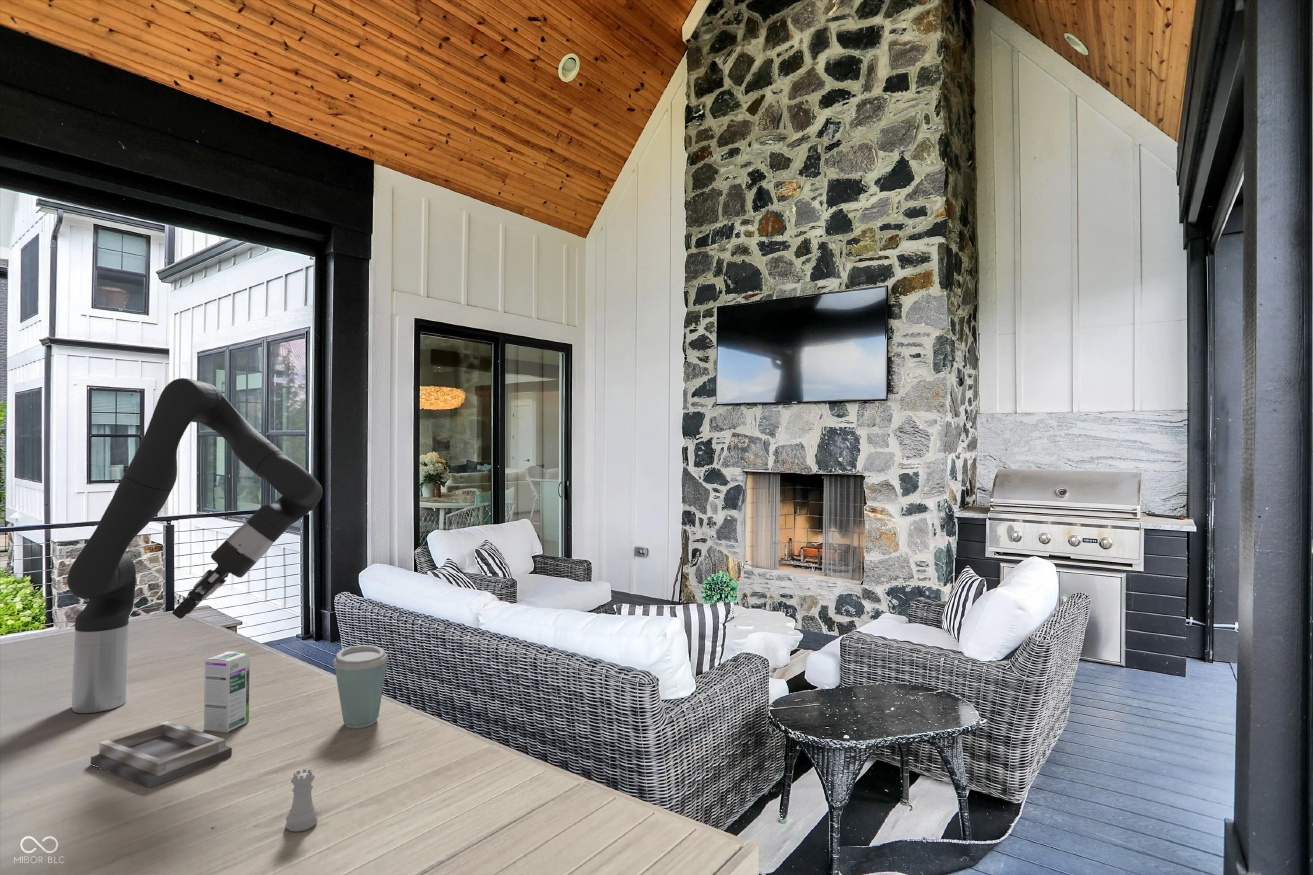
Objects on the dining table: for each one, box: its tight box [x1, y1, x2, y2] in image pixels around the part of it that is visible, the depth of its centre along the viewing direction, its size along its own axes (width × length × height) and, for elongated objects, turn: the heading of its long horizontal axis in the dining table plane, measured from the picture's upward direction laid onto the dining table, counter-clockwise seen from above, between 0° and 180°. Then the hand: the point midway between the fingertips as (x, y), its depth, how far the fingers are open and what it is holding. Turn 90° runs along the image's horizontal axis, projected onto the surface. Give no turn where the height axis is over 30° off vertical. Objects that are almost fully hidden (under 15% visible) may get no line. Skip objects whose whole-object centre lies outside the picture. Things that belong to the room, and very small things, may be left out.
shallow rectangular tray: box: [90, 720, 233, 789], centre depth 128 cm, size 18×14×4 cm
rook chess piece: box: [285, 768, 319, 833], centre depth 107 cm, size 4×4×8 cm
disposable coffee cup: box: [332, 644, 389, 729], centre depth 147 cm, size 11×11×15 cm
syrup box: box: [203, 651, 251, 734], centre depth 144 cm, size 6×6×14 cm
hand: (179, 613), depth 141 cm, fingers open, 8 cm apart
